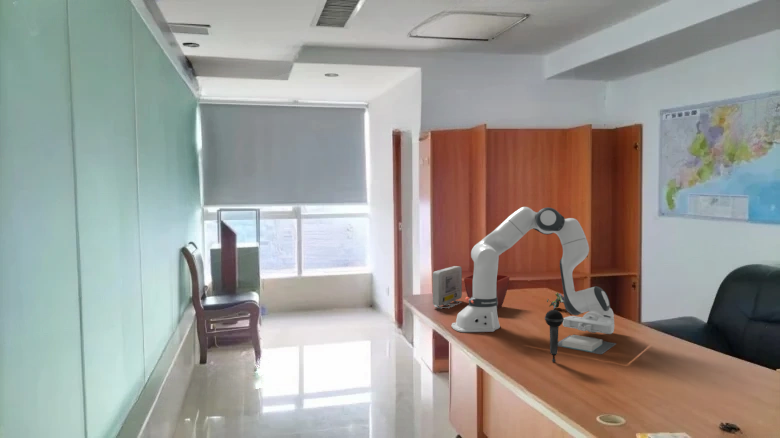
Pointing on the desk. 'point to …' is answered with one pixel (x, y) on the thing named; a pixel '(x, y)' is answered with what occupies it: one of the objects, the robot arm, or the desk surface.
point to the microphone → (554, 329)
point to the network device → (447, 286)
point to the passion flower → (557, 300)
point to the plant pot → (500, 287)
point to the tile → (582, 343)
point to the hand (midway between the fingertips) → (581, 328)
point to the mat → (600, 350)
